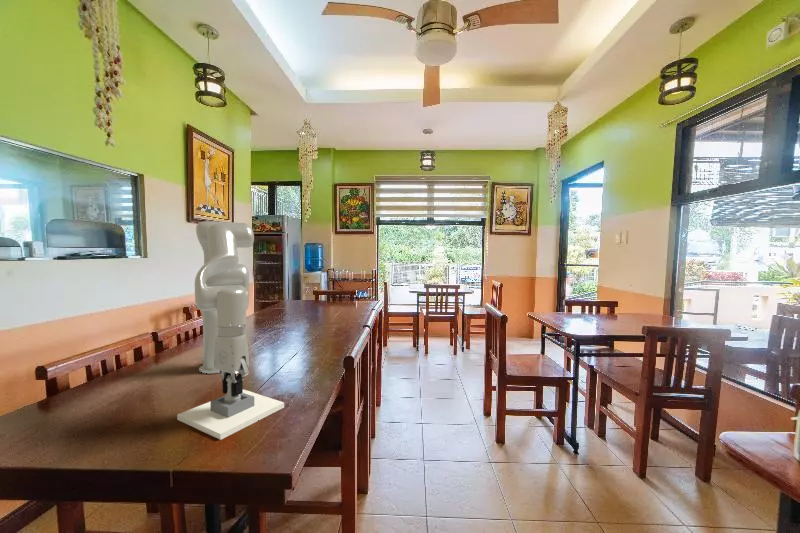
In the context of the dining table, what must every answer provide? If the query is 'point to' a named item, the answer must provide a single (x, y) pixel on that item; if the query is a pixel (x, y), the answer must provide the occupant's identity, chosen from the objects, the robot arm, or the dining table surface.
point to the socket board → (230, 414)
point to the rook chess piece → (229, 398)
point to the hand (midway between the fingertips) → (232, 392)
